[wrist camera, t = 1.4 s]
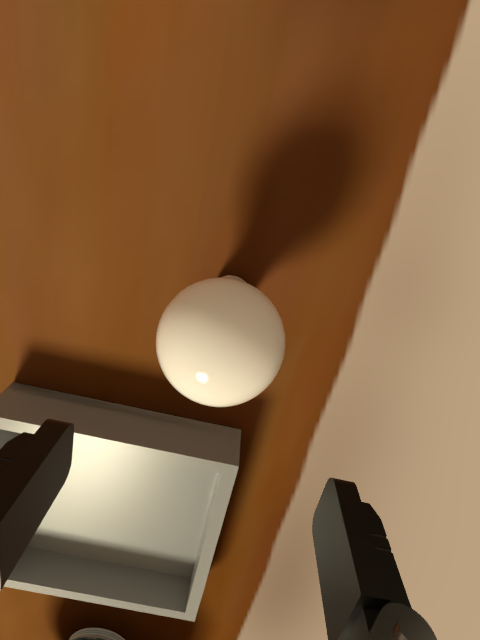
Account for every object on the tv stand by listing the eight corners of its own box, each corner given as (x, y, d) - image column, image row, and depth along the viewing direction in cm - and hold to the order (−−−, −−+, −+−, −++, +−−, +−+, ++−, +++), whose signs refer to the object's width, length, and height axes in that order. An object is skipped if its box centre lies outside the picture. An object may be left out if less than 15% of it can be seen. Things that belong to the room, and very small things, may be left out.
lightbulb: (184, 330, 28) (142, 429, 18) (185, 241, 26) (137, 298, 16) (273, 337, 28) (281, 440, 18) (282, 248, 26) (298, 310, 15)
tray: (13, 382, 31) (-21, 413, 27) (241, 429, 31) (238, 466, 28) (14, 541, 37) (-13, 583, 34) (200, 576, 38) (194, 621, 35)
